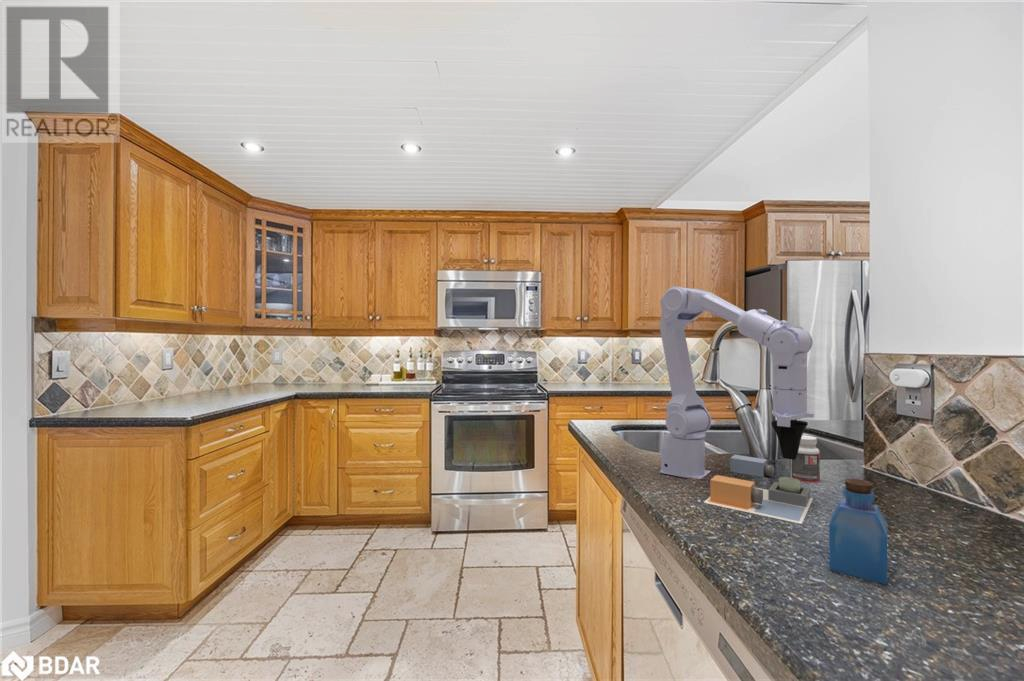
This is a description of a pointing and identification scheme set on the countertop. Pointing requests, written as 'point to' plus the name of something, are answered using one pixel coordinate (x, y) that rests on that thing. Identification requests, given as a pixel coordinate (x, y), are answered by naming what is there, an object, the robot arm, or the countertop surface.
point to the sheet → (771, 509)
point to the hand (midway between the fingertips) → (789, 458)
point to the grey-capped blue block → (751, 466)
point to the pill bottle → (806, 461)
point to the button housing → (789, 496)
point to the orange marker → (735, 491)
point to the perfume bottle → (858, 534)
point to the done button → (789, 484)
